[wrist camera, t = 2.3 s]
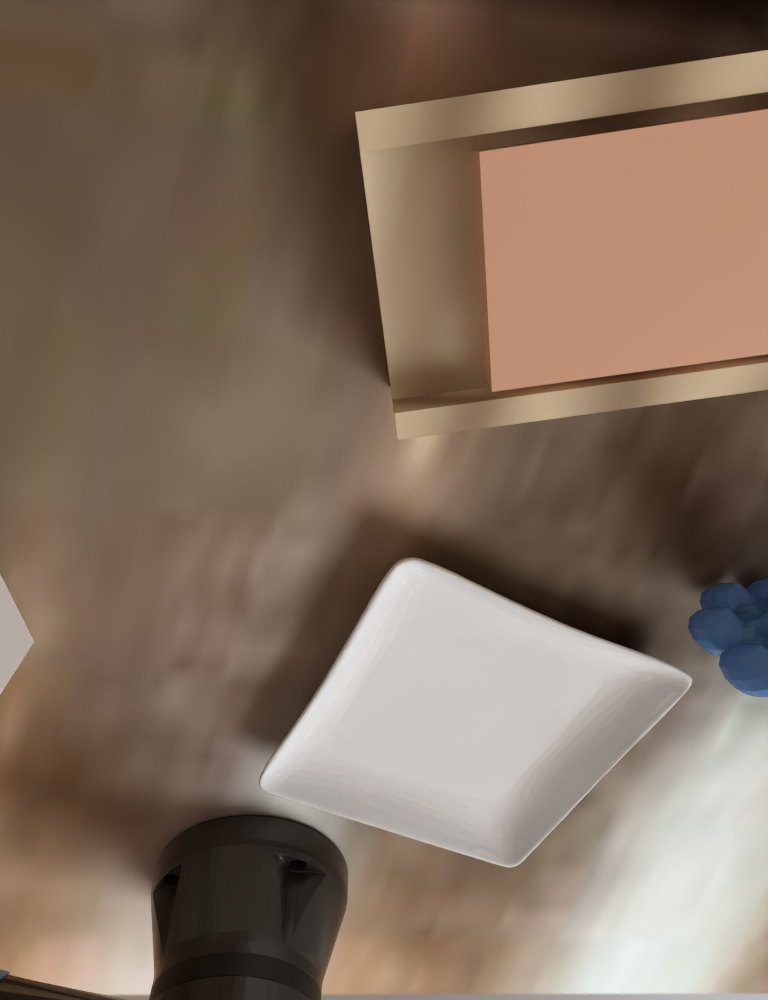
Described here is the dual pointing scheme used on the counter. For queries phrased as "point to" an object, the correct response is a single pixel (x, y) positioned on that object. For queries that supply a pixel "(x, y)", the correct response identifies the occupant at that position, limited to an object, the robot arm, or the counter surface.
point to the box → (452, 247)
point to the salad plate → (467, 717)
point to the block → (623, 250)
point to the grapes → (736, 633)
